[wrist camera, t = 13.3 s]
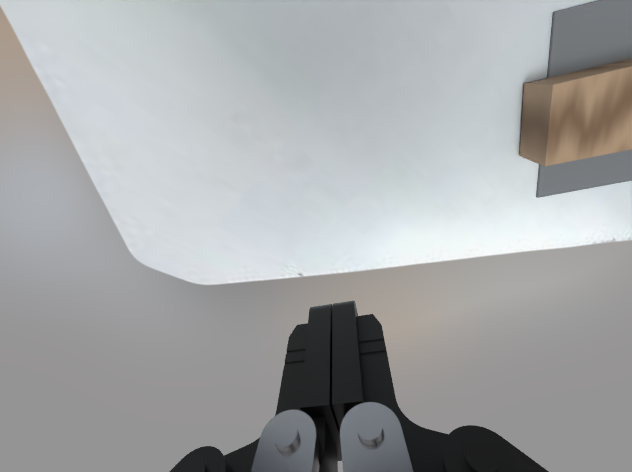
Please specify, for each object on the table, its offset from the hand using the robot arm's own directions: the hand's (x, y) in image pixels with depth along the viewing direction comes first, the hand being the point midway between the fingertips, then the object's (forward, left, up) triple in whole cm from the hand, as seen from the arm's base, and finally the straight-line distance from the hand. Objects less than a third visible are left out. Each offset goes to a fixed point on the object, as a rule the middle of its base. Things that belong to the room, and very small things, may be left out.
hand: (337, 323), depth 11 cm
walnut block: (+2, +21, -28) cm, 36 cm away
